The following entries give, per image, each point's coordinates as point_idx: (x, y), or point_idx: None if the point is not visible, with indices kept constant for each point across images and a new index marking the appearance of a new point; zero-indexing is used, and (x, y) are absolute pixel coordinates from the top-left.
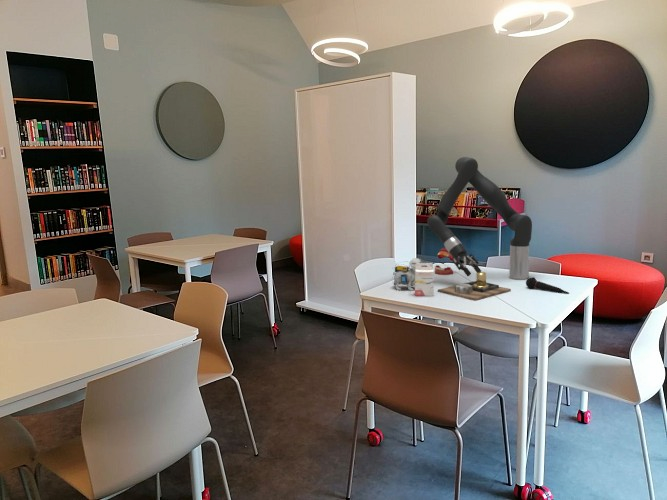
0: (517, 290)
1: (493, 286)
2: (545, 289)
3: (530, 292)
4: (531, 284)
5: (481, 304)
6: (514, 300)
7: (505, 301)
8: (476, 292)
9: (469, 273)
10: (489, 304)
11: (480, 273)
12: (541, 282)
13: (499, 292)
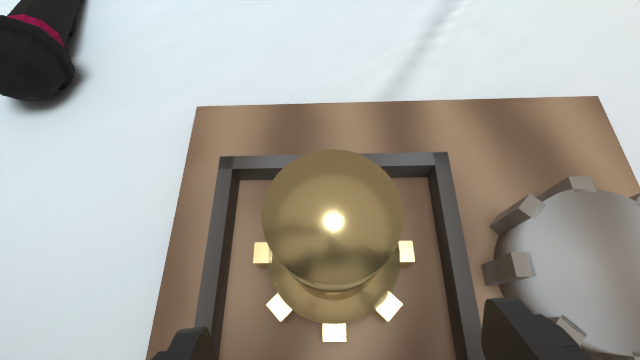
0: (159, 102)
1: (291, 155)
2: (75, 12)
3: (162, 41)
4: (60, 47)
5: (597, 45)
6: (376, 4)
7: (431, 16)
8: (474, 190)
9: (520, 314)
10: (553, 25)
11: (375, 192)
12: (26, 2)
13: (325, 105)
